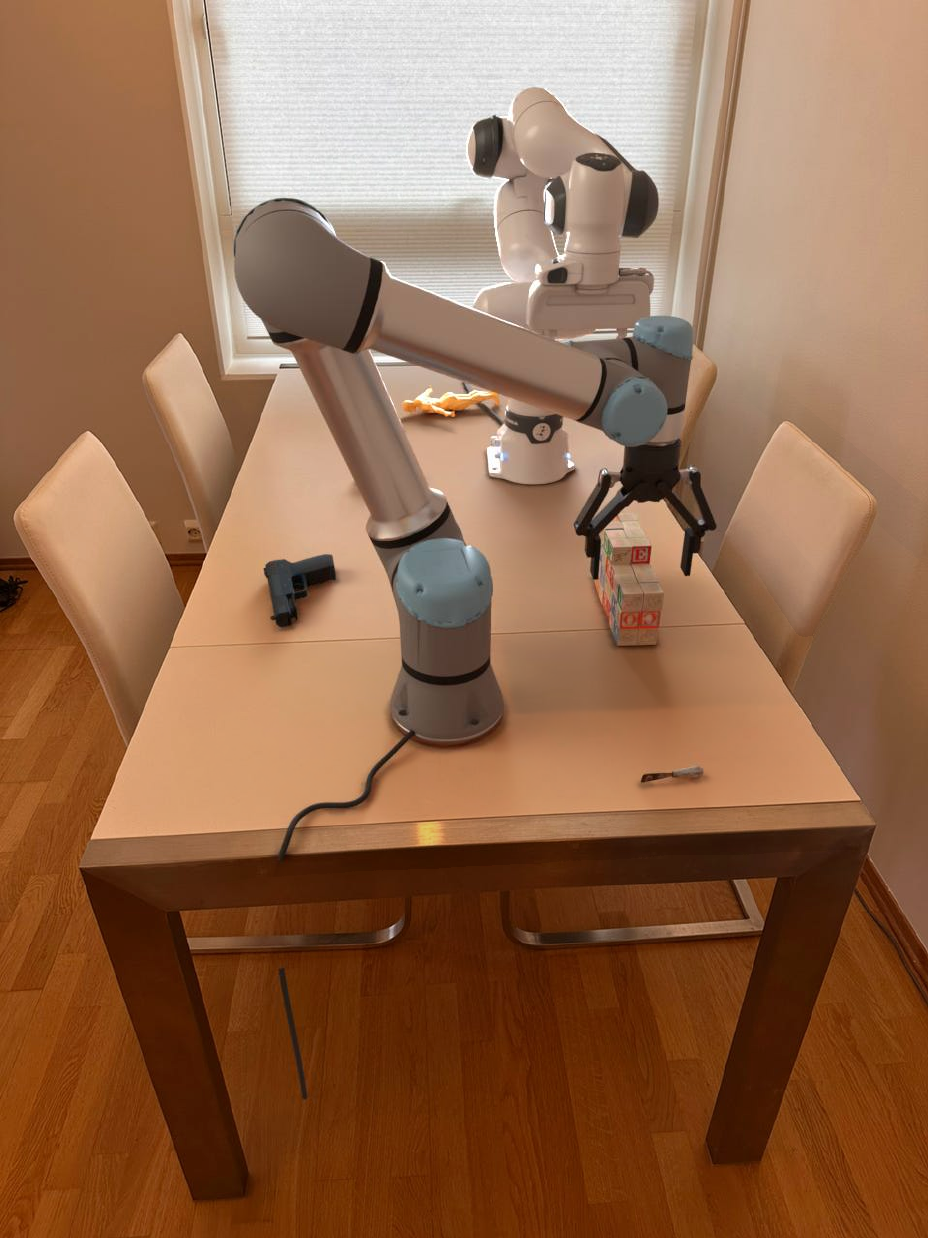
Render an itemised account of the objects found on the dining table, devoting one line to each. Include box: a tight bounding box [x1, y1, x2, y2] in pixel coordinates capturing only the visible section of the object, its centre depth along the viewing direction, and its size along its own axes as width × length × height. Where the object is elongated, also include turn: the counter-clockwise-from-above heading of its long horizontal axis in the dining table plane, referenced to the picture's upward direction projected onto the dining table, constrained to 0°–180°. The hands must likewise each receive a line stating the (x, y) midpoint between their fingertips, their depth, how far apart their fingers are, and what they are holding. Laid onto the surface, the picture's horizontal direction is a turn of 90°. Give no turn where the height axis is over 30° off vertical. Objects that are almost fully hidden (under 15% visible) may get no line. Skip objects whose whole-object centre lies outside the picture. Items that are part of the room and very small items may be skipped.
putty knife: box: [640, 765, 705, 784], centre depth 109 cm, size 1×8×2 cm, turn 103°
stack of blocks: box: [593, 512, 665, 647], centre depth 140 cm, size 21×6×12 cm, turn 3°
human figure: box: [402, 385, 500, 418], centre depth 225 cm, size 20×20×4 cm
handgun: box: [263, 553, 337, 628], centre depth 146 cm, size 3×18×12 cm
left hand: (639, 573), depth 132 cm, fingers open, 13 cm apart
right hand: (585, 355), depth 150 cm, fingers open, 8 cm apart
